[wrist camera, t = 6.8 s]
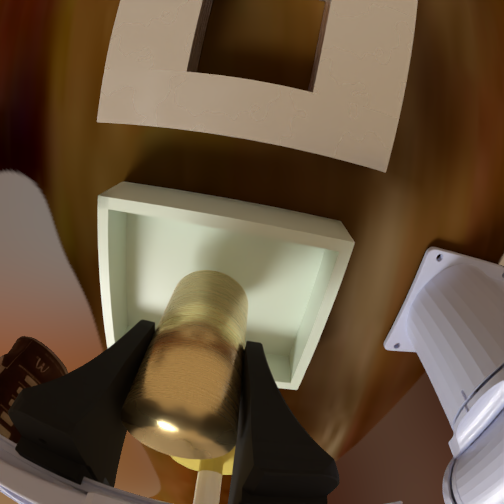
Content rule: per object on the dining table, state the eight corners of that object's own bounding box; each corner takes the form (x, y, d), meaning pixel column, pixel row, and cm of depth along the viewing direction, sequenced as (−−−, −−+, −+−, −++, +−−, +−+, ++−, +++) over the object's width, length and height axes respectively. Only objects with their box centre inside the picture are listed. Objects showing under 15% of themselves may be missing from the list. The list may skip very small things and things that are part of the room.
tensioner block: (404, -10, 11) (419, -21, 9) (372, 165, 15) (385, 172, 13) (155, -51, 10) (143, -66, 8) (114, 120, 15) (96, 122, 13)
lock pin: (255, 278, 15) (246, 413, 8) (240, 338, 17) (227, 466, 10) (176, 262, 15) (114, 383, 8) (171, 324, 17) (126, 443, 10)
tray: (340, 220, 16) (354, 242, 14) (294, 358, 21) (297, 389, 18) (123, 181, 16) (97, 195, 13) (123, 325, 20) (108, 352, 18)
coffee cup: (11, 362, 24) (-45, 446, 12) (4, 309, 21) (-76, 404, 9) (76, 402, 25) (30, 500, 14) (80, 356, 22) (13, 479, 10)
